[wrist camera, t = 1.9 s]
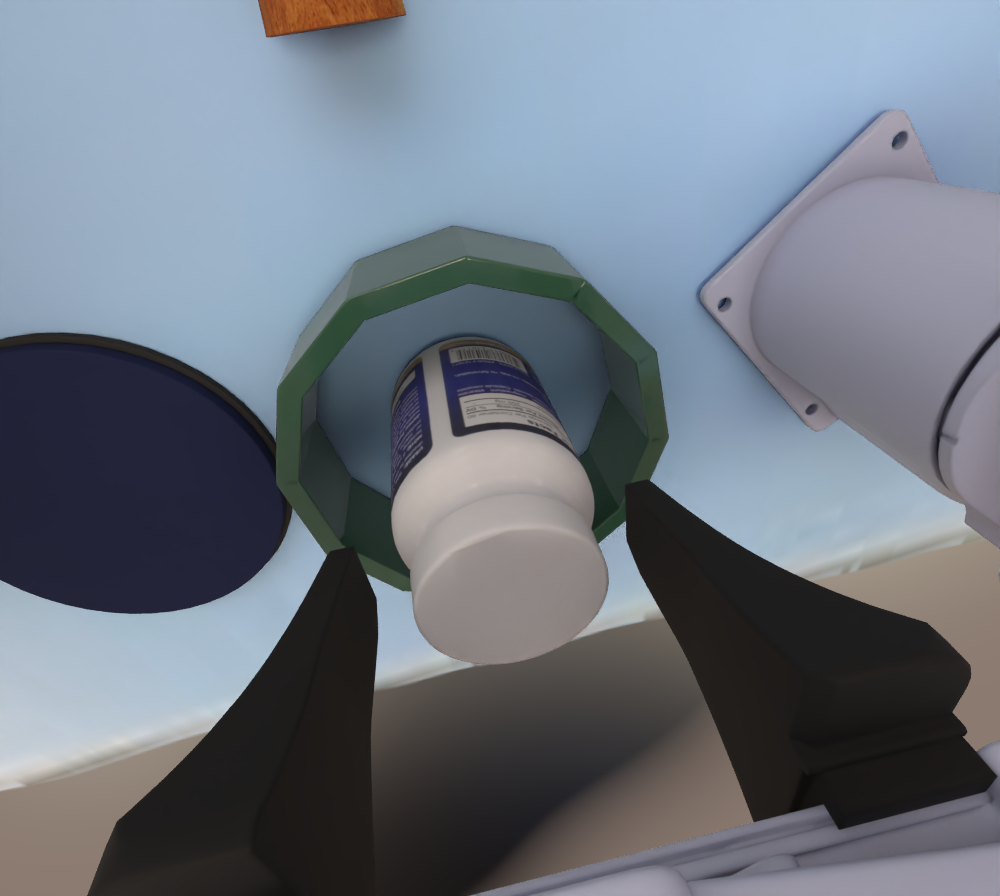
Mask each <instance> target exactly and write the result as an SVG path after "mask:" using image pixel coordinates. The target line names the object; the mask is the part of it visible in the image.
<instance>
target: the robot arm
mask: <svg viewBox="0 0 1000 896" xmlns="http://www.w3.org/2000/svg"><path fill="white" fill-rule="evenodd" d="M897 134H898V136H899V138H898V141H897V143H896V144H895V145H894V146H893V147H892V142H893V139H894V137H895V136H896V135H897ZM724 298H726V303H725V304H724V306H723V307H721V308H718V304H719V302H720V301H721V300H722V299H724ZM700 301H701V303H702V304H703V305H704V306H705V308H706V309H707V310H708V311H709V312H710V313H711V315H712V316H713V317H714V318H715V319H716V320H717V321H718V323H719V324H720V325H721V326H722V327H723V328H724V330H725V331H726V332H727V333H728V334H729V335H730V337H731V338H732V339H733V340H734V341H735V342H736V343H737V345H738V346H739V347H740V348H741V349H742V350H743V352H744V353H745V354H746V355H747V356H748V357H749V359H750V360H751V361H752V362H753V363H754V364H755V366H756V367H757V368H758V369H759V370H760V371H761V372H762V374H763V375H764V376H765V377H766V378H767V379H768V381H769V382H770V383H771V384H772V385H773V386H774V388H775V389H776V390H777V391H778V392H779V393H780V394H781V396H782V397H783V398H784V399H785V400H786V401H787V403H788V404H789V405H790V406H791V407H792V408H793V410H794V411H795V412H796V413H797V414H798V415H799V417H800V418H801V419H802V420H803V421H804V422H805V423H806V425H807V426H808V427H810V428H811V429H812V430H814V431H820V430H823V429H825V428H827V427H828V426H829V425H831V424H832V423H833V422H834V421H836V420H837V419H840V420H841V421H842V422H844V423H845V424H847V425H848V426H849V427H851V428H852V429H853V430H855V431H856V432H857V433H859V434H860V435H861V436H863V437H864V438H866V439H867V440H868V441H870V442H871V443H872V444H874V445H875V446H876V447H878V448H879V449H881V450H882V451H883V452H885V453H886V454H887V455H889V456H890V457H891V458H893V459H894V460H896V461H897V462H898V463H900V464H901V465H902V466H904V467H905V468H906V469H908V470H909V471H910V472H912V473H913V474H915V475H916V476H917V477H919V478H920V479H921V480H923V481H924V482H925V483H927V484H928V485H930V486H931V487H932V488H934V489H935V490H936V491H938V492H939V493H941V494H943V495H945V496H946V497H948V498H950V499H952V500H954V501H956V502H959V503H961V504H964V505H965V507H966V516H965V523H966V524H967V525H969V526H970V527H971V528H973V529H974V530H975V531H977V532H978V533H979V534H981V535H982V536H983V537H985V538H986V539H987V540H989V541H990V542H991V543H993V544H994V545H995V546H997V547H998V548H999V549H1000V193H995V192H988V191H982V190H976V189H970V188H963V187H957V186H951V185H945V184H939V183H938V180H937V178H936V176H935V174H934V172H933V170H932V167H931V165H930V163H929V161H928V159H927V157H926V154H925V152H924V150H923V148H922V146H921V143H920V141H919V139H918V137H917V135H916V133H915V130H914V128H913V126H912V124H911V122H910V120H909V117H908V115H907V114H906V113H905V112H904V111H902V110H889V111H886V112H884V113H883V114H881V115H880V116H879V117H878V118H877V119H876V120H875V121H874V122H873V123H872V124H871V125H870V126H869V127H868V128H867V129H865V130H864V131H863V132H862V133H861V134H860V135H859V136H858V137H857V138H856V139H855V140H854V141H853V142H852V143H851V144H850V145H849V146H848V147H847V148H846V149H845V150H844V151H843V152H842V153H841V154H840V155H839V156H838V157H836V158H835V159H834V160H833V161H832V162H831V163H830V164H829V165H828V166H827V167H826V168H825V169H824V170H823V171H822V172H821V173H820V174H819V175H818V176H817V177H816V178H815V179H814V180H813V181H812V182H811V183H810V184H809V185H807V186H806V187H805V188H804V189H803V190H802V191H801V192H800V193H799V194H798V195H797V196H796V197H795V198H794V199H793V200H792V201H791V202H790V203H789V204H788V205H787V206H786V207H785V208H784V209H783V210H782V211H781V212H780V213H778V214H777V215H776V216H775V217H774V218H773V219H772V220H771V221H770V222H769V223H768V224H767V225H766V226H765V227H764V228H763V229H762V230H761V231H760V232H759V233H758V234H757V235H756V236H755V237H754V238H753V239H752V240H751V241H750V242H748V243H747V244H746V245H745V246H744V247H743V248H742V249H741V250H740V251H739V252H738V253H737V254H736V255H735V256H734V257H733V258H732V259H731V260H730V261H729V262H728V263H727V264H726V265H725V266H724V267H723V268H722V269H721V270H719V271H718V272H717V273H716V274H715V275H714V276H713V277H712V278H711V279H710V280H709V281H708V282H707V283H706V284H705V285H704V287H703V288H702V290H701V292H700ZM810 405H811V406H810ZM809 406H810V408H809V409H807V408H808V407H809ZM806 409H807V410H806ZM625 505H626V537H627V543H628V545H629V548H630V550H631V553H632V555H633V558H634V560H635V563H636V565H637V567H638V570H639V572H640V574H641V576H642V578H643V580H644V582H645V583H646V585H647V587H648V589H649V591H650V592H651V594H652V596H653V598H654V600H655V601H656V603H657V605H658V607H659V608H660V610H661V612H662V614H663V616H664V617H665V619H666V621H667V623H668V624H669V626H670V628H671V629H672V631H673V633H674V635H675V636H676V638H677V640H678V642H679V644H680V646H681V648H682V649H683V652H684V653H685V655H686V657H687V659H688V661H689V664H690V666H691V668H692V670H693V673H694V675H695V677H696V680H697V682H698V684H699V686H700V689H701V691H702V693H703V695H704V698H705V700H706V703H707V705H708V707H709V710H710V712H711V714H712V717H713V719H714V721H715V724H716V726H717V729H718V731H719V734H720V736H721V739H722V741H723V744H724V746H725V749H726V751H727V753H728V756H729V759H730V761H731V763H732V766H733V768H734V771H735V774H736V776H737V779H738V781H739V784H740V786H741V789H742V792H743V795H744V797H745V800H746V803H747V805H748V808H749V810H750V813H751V816H752V818H753V821H754V823H750V824H746V825H742V826H738V827H734V828H730V829H726V830H723V831H719V832H715V833H711V834H707V835H703V836H699V837H695V838H692V839H688V840H684V841H681V842H676V843H672V844H668V845H664V846H661V847H657V848H653V849H649V850H645V851H641V852H638V853H633V854H630V855H626V856H622V857H618V858H614V859H610V860H606V861H603V862H599V863H595V864H591V865H588V866H583V867H579V868H575V869H572V870H568V871H564V872H560V873H556V874H552V875H548V876H544V877H541V878H537V879H533V880H529V881H525V882H521V883H518V884H514V885H509V886H506V887H502V888H498V889H494V890H490V891H487V892H482V893H479V894H475V895H471V896H1000V741H996V742H993V743H990V744H988V745H986V746H984V747H982V748H981V749H979V750H978V751H977V752H976V751H975V750H974V749H973V748H972V747H971V746H970V744H969V743H968V742H967V741H966V740H965V739H964V738H963V737H962V736H965V735H966V733H967V730H966V727H965V726H964V725H963V724H962V723H961V721H960V720H959V719H958V718H957V717H956V716H955V715H954V714H953V713H952V712H953V710H954V708H955V707H956V705H957V703H958V702H959V700H960V698H961V697H962V695H963V693H964V691H965V690H966V688H967V686H968V683H969V681H970V679H971V667H970V664H969V663H968V662H967V661H966V660H965V659H964V658H963V657H962V656H961V655H960V654H959V653H958V652H957V651H956V650H955V649H954V648H953V647H952V646H951V645H950V644H949V643H948V642H947V641H946V640H945V639H944V638H943V637H942V636H941V635H940V634H939V633H938V632H937V631H936V630H934V629H933V628H932V627H931V626H930V625H929V624H928V623H926V622H923V621H919V620H916V619H913V618H910V617H906V616H903V615H900V614H897V613H893V612H890V611H887V610H884V609H881V608H877V607H874V606H871V605H869V604H866V603H863V602H861V601H858V600H855V599H852V598H850V597H847V596H844V595H841V594H839V593H836V592H834V591H831V590H829V589H827V588H824V587H822V586H819V585H817V584H815V583H813V582H810V581H808V580H806V579H804V578H801V577H799V576H797V575H795V574H793V573H791V572H788V571H786V570H784V569H782V568H780V567H778V566H776V565H775V564H773V563H771V562H769V561H767V560H765V559H763V558H761V557H759V556H758V555H756V554H754V553H752V552H750V551H749V550H747V549H745V548H744V547H742V546H740V545H739V544H737V543H735V542H734V541H732V540H731V539H729V538H727V537H726V536H724V535H723V534H721V533H720V532H718V531H717V530H715V529H714V528H712V527H711V526H710V525H708V524H707V523H705V522H704V521H702V520H701V519H700V518H698V517H697V516H695V515H694V514H693V513H691V512H690V511H689V510H687V509H686V508H684V507H683V506H682V505H681V504H679V503H678V502H677V501H675V500H674V499H673V498H671V497H670V496H669V495H668V494H666V493H665V492H664V491H662V490H661V489H660V488H659V487H657V486H656V485H655V484H653V483H652V482H651V481H649V480H648V479H646V480H641V481H637V482H633V483H628V484H625ZM999 580H1000V568H999ZM377 645H378V617H377V599H376V596H375V594H374V592H373V589H372V587H371V585H370V582H369V580H368V578H367V575H366V573H365V571H364V568H363V566H362V564H361V562H360V559H359V557H358V555H357V552H356V550H355V548H354V546H350V547H346V548H342V549H337V550H333V551H330V552H329V554H328V555H327V557H326V559H325V561H324V563H323V564H322V566H321V568H320V570H319V572H318V574H317V576H316V578H315V580H314V582H313V584H312V585H311V587H310V589H309V591H308V593H307V595H306V596H305V598H304V600H303V602H302V603H301V605H300V607H299V609H298V610H297V612H296V614H295V616H294V617H293V619H292V621H291V623H290V624H289V626H288V628H287V629H286V631H285V632H284V634H283V635H282V637H281V639H280V640H279V642H278V643H277V645H276V646H275V648H274V649H273V651H272V653H271V654H270V656H269V657H268V659H267V660H266V661H265V663H264V664H263V666H262V667H261V669H260V670H259V671H258V673H257V674H256V675H255V677H254V678H253V679H252V681H251V682H250V683H249V685H248V686H247V687H246V689H245V690H244V691H243V693H242V694H241V695H240V696H239V698H238V699H237V700H236V701H235V703H234V704H233V705H232V706H231V707H230V708H229V710H228V711H227V712H226V713H225V714H224V715H223V717H222V718H221V719H220V720H219V721H218V722H217V724H216V725H215V726H214V727H213V728H212V730H211V731H210V732H209V733H208V734H207V735H206V736H205V737H204V738H203V739H202V741H201V742H199V744H198V745H197V746H196V747H195V748H194V749H193V750H192V751H191V752H190V753H189V754H188V755H187V756H186V757H185V758H184V759H183V760H182V761H181V762H180V763H179V764H178V765H177V766H176V767H175V768H174V769H173V770H172V771H171V772H170V773H169V774H168V775H167V776H166V777H165V778H164V779H163V780H162V781H161V782H160V783H159V784H158V785H157V786H156V787H154V788H153V789H152V790H151V791H150V792H149V793H148V794H147V795H146V796H145V797H144V798H143V799H141V800H140V801H139V802H138V803H137V804H136V805H135V806H134V807H133V808H132V809H131V810H129V811H128V812H127V813H126V814H125V815H124V816H123V817H122V818H121V819H119V820H118V821H117V823H116V825H115V827H114V830H113V832H112V834H111V836H110V838H109V841H108V843H107V845H106V848H105V850H104V853H103V856H102V858H101V861H100V864H99V866H98V869H97V871H96V874H95V877H94V880H93V882H92V885H91V888H90V890H89V893H88V895H87V896H377V885H376V871H375V854H374V834H373V812H372V784H371V718H372V706H373V694H374V682H375V670H376V658H377Z"/></svg>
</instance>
